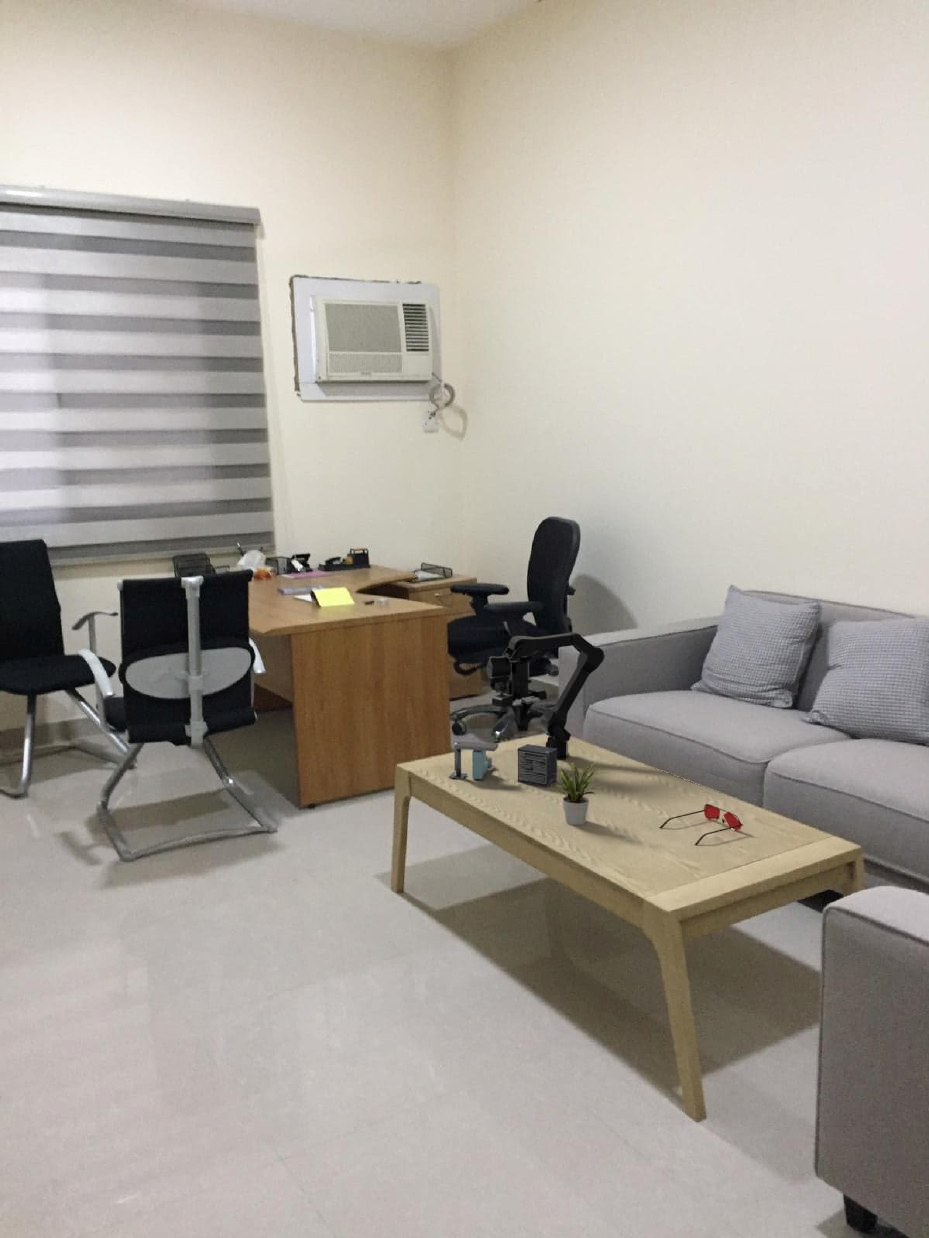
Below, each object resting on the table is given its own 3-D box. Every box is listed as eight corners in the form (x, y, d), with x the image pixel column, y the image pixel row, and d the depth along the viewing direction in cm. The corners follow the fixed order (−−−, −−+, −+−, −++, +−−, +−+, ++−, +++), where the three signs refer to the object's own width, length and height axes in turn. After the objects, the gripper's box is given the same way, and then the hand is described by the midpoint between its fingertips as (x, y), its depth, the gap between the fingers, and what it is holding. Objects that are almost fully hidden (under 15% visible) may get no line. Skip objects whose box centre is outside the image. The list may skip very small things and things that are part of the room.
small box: (558, 781, 302) (558, 747, 300) (548, 787, 296) (548, 753, 295) (527, 776, 307) (527, 742, 306) (516, 781, 302) (516, 748, 300)
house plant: (610, 814, 273) (611, 756, 270) (603, 832, 260) (604, 772, 257) (558, 810, 277) (559, 753, 274) (549, 827, 264) (549, 767, 261)
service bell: (497, 764, 318) (497, 753, 318) (492, 771, 312) (492, 759, 311) (476, 763, 320) (476, 751, 320) (470, 769, 314) (470, 757, 313)
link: (478, 763, 319) (477, 738, 318) (493, 764, 318) (492, 738, 317) (469, 778, 304) (469, 751, 303) (484, 779, 303) (484, 752, 302)
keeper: (498, 777, 306) (498, 743, 304) (494, 782, 301) (494, 748, 300) (453, 773, 310) (453, 740, 308) (448, 778, 305) (448, 744, 304)
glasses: (743, 834, 259) (744, 816, 258) (695, 847, 251) (695, 828, 250) (705, 818, 271) (706, 800, 270) (658, 829, 263) (658, 811, 262)
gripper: (525, 668, 331) (525, 714, 333) (481, 675, 320) (481, 723, 322) (548, 673, 322) (548, 721, 325) (503, 681, 311) (503, 730, 314)
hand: (519, 723), depth 322 cm, fingers closed
